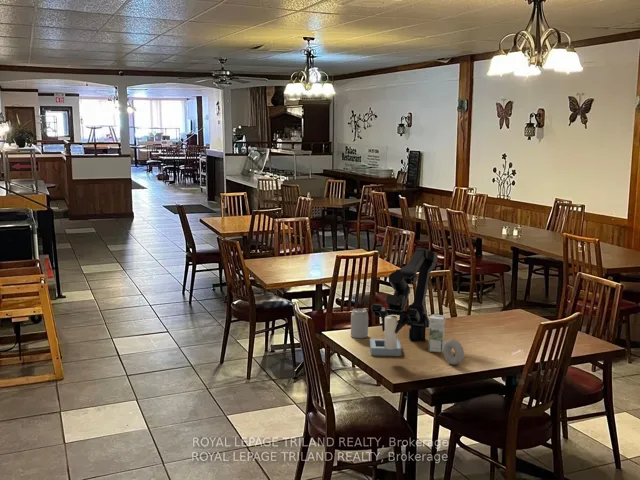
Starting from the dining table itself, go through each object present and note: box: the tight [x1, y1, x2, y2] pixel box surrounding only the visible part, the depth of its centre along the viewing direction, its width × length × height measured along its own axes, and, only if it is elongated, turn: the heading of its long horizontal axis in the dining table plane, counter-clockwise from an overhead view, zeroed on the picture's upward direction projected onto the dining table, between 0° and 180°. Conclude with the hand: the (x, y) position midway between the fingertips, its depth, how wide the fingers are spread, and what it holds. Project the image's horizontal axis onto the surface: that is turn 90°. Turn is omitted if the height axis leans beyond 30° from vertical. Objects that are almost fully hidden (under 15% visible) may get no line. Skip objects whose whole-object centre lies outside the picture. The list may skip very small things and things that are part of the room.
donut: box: [442, 338, 465, 366], centre depth 243 cm, size 10×4×10 cm, turn 33°
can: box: [350, 308, 369, 340], centre depth 277 cm, size 8×8×12 cm
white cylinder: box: [383, 315, 398, 349], centre depth 244 cm, size 5×5×12 cm
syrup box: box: [428, 314, 446, 354], centre depth 259 cm, size 6×6×14 cm
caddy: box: [369, 338, 402, 357], centre depth 259 cm, size 12×12×3 cm
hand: (389, 331), depth 243 cm, fingers closed on white cylinder, 5 cm apart
